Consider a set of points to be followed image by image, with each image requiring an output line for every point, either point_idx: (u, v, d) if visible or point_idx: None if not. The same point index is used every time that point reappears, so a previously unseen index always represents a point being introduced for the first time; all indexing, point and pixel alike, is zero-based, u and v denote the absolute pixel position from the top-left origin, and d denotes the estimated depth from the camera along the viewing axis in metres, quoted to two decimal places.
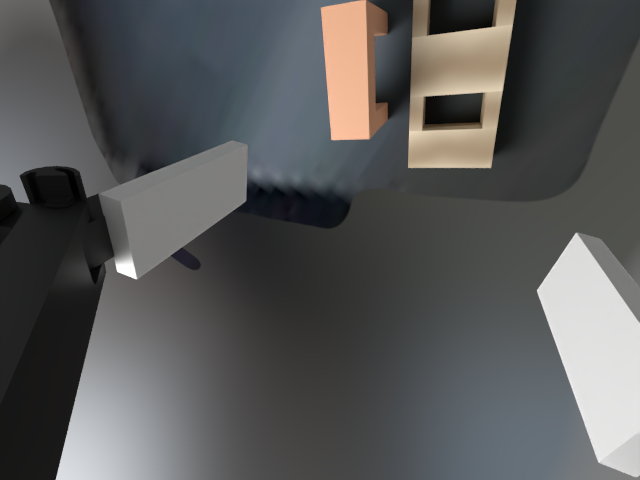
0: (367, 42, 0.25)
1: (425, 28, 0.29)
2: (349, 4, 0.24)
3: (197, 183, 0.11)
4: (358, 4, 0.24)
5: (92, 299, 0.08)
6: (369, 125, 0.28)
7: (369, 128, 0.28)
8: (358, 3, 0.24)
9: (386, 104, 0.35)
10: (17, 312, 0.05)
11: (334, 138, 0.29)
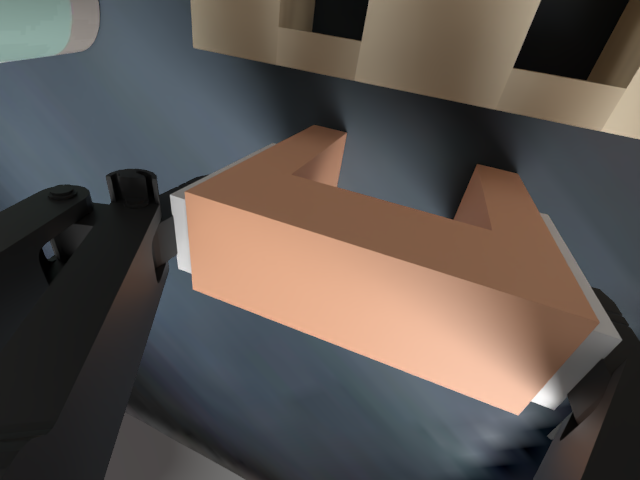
0: (280, 216, 0.08)
1: (345, 43, 0.11)
2: (191, 232, 0.09)
3: None
4: (192, 212, 0.09)
5: (154, 297, 0.09)
6: (539, 297, 0.07)
7: (551, 301, 0.07)
8: (190, 211, 0.09)
9: (480, 169, 0.14)
10: (90, 308, 0.06)
11: (517, 407, 0.08)
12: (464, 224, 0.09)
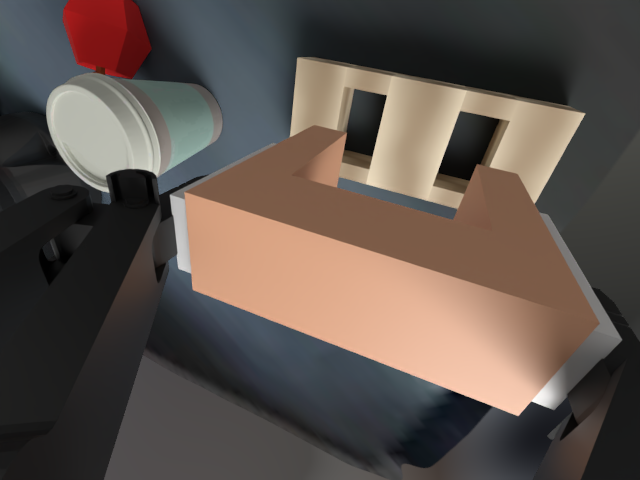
0: (279, 216, 0.08)
1: (362, 169, 0.26)
2: (191, 232, 0.09)
3: None
4: (192, 212, 0.09)
5: (155, 297, 0.09)
6: (538, 298, 0.07)
7: (551, 302, 0.07)
8: (190, 211, 0.09)
9: (480, 170, 0.14)
10: (90, 308, 0.06)
11: (517, 407, 0.08)
12: (464, 224, 0.09)
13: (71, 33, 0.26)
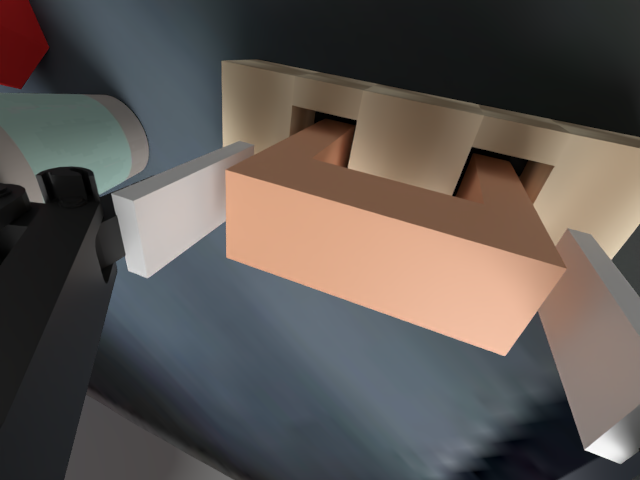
0: (306, 189, 0.10)
1: None
2: (228, 205, 0.11)
3: (206, 183, 0.12)
4: (231, 187, 0.11)
5: (103, 298, 0.08)
6: (519, 251, 0.09)
7: (529, 254, 0.09)
8: (229, 187, 0.11)
9: (476, 157, 0.16)
10: (30, 311, 0.06)
11: (504, 348, 0.10)
12: (460, 199, 0.11)
13: None
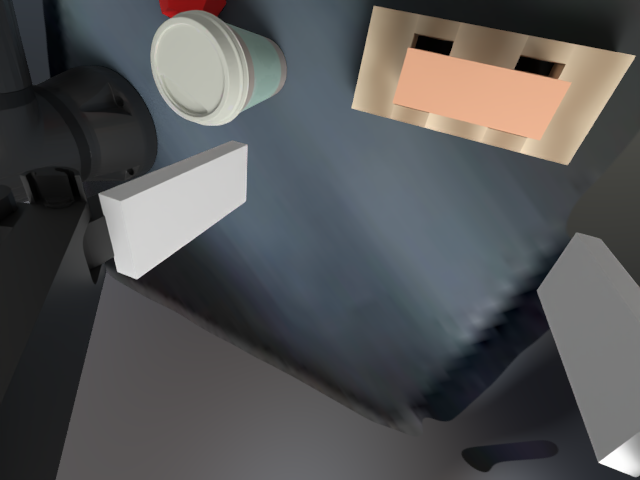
0: (449, 56, 0.21)
1: (422, 113, 0.29)
2: (403, 68, 0.22)
3: (197, 183, 0.11)
4: (408, 57, 0.22)
5: (92, 299, 0.08)
6: (551, 78, 0.20)
7: (555, 79, 0.20)
8: (407, 57, 0.22)
9: (518, 70, 0.27)
10: (17, 312, 0.05)
11: (540, 135, 0.21)
12: None
13: None
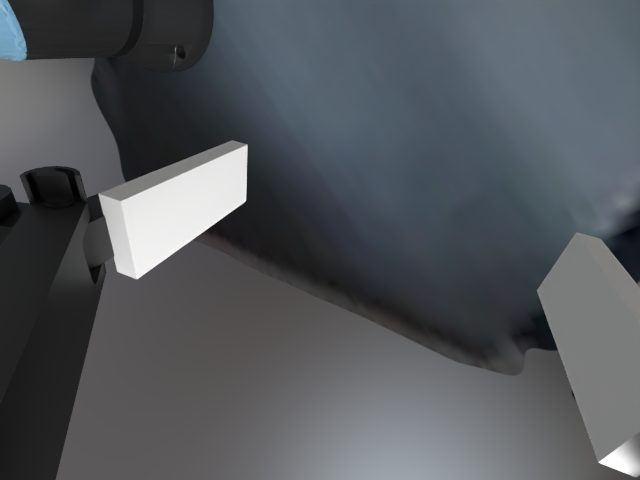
0: None
1: None
2: None
3: (197, 183, 0.11)
4: None
5: (92, 299, 0.08)
6: None
7: None
8: None
9: None
10: (17, 312, 0.05)
11: None
12: None
13: None
